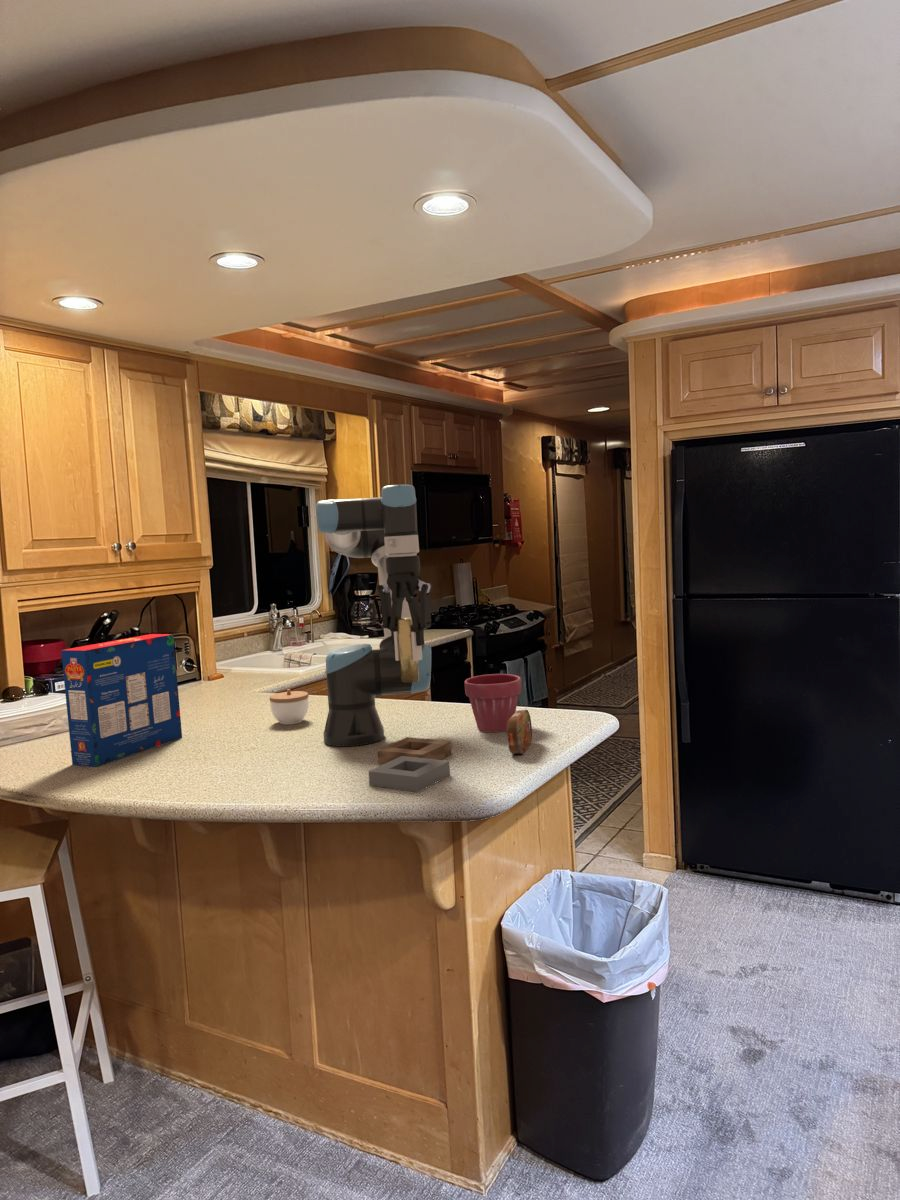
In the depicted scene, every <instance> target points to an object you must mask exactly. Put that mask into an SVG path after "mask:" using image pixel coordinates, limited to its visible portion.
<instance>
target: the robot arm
mask: <svg viewBox="0 0 900 1200" xmlns="http://www.w3.org/2000/svg"><path fill="white" fill-rule="evenodd" d="M315 510H316V522H317V523H316V524H317V530H318V532H319V533H320V534H324V540H325V543H326V545H327V546H328V547H329V549H330V550H332V551H333V552H335V553H337V554H339V555H341V556H342V555H343V556H345V557H348V558H355V559H365V558H366V559H369V558H370V559H371V563H372V564H373V565H374V566H375V567H376V568H377V571H378V572H377V573H378V574H377V575H378V581H379V582H378V583H379V584H378V585H377V586H376V589H377V592H378V594H379V599H380V609H381V621H382V627H383V634H384V638H383V639H381V641H380V642H379V645H378V647H379V648H378V649H376V648H375V649H373V647H372V645H371V644H369V643H364V644H363V643H362V644H354V645H349V646H344V647H341V648H337V649H335V650H332V651H330V652H329V653H328V654H327V656H326V657H325V672H324V673H325V674H326V687H327V702H328V703H327V704H328V712H327V713H328V714H327V717H326V721H325V725H324V730H323V743H324V744H326V745H329V746H333V747H334V746H335V747H357V746H365V745H369V744H374V743H376V742H379V741H381V740H383V739H384V738H385V729H384V726H383V724H382V721H381V718H380V715H379V713H378V710H377V708H376V698H375V697H379V696H389V695H390V696H392V695H405V694H411V695H413V694H415V693H423V692H426V691H428V690H429V689H430V686H431V678H432V676H431V675H432V673H431V672H432V647H431V645H428V644H425V635H424V634H425V633H424V632H425V630H426V629H428V628H431V626H432V609H431V607H432V606H431V605H432V604H431V601H432V600H431V593H432V590H433V584H432V583H431V582H429V583H427V582H425V581H423V580H422V578H421V576H420V572H421V561H420V556H419V555H417V554H418V553H420V543H419V532H418V518H417V517H418V514H417V513H418V512H417V497H416V489H415V486H414V485H412V484H391V485H385V486H383V487H381V496H379V497H378V496H377V497H363V498H348V499H347V498H345V499H343V498H342V499H333V498H331V499H326V500H319V501H317V503H316V505H315ZM418 591H419V592H418ZM400 618H411V619H412V623H413V627H414V630H412V631H413V632H411V638H412V654H413V661H418V669H419V681H416V682H401V668H400V652H399V637H398V621H397V619H400Z"/></svg>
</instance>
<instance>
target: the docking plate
mask: <svg viewBox="0 0 900 1200" xmlns="http://www.w3.org/2000/svg"><path fill="white" fill-rule="evenodd" d="M450 765H451V764H450V760H445V759H444V760H443V759H441V760H436V759H427V758H418V757H408V756H400V757H398V758H396V759H394V760H392V761H389V762H387V763H385V764H381V765H379V766H377V767H375V768H372V769H370V770H368V783H369V784H368V785H369V786H370V785H372V786H371V787H376V786H379V787H378V788H384V787H387V788H386V789H391V788H394V789H393V790H399V789H400V791H406V790H407V792H414V791H415V792H414V793H420V792H421V790H422V791H424V790H426V789H427V788H429V787H431V786H432V784H433V785H435V784H436V783H438V782H440V781H442V780H444V779H446V778H447V777H449V776H451V767H450ZM445 777H446V778H445ZM443 778H444V779H443ZM441 779H442V780H441ZM439 780H440V781H439ZM437 781H438V782H437ZM435 782H436V783H435ZM434 783H435V784H434ZM430 785H431V786H430ZM428 786H429V787H428ZM426 787H427V788H426ZM425 788H426V789H425ZM423 789H424V790H423Z"/></svg>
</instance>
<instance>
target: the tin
mask: <svg viewBox="0 0 900 1200" xmlns="http://www.w3.org/2000/svg"><path fill="white" fill-rule="evenodd" d="M531 719H532V718H531V714H530V712H529V710H528V709H522V710H516V712H515V713H514V714H513V715H512V716H511V717H510V718H509V720H508V723H507V730H506V734H507V735H506V736H507V742H508V750H509V752H510V753H511V754H512V755H524V754H525V753H526V751H527V750H528V748H529V747H530V746H531V744H532V739H533V730H532V729H533V728H532V727H533V725H532V720H531Z"/></svg>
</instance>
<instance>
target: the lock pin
mask: <svg viewBox="0 0 900 1200" xmlns="http://www.w3.org/2000/svg"><path fill="white" fill-rule="evenodd" d="M397 621H398V637H399V652H400V668H401V682H416V681H419V669H418V661H413V654H412V638H411V632H413V631H412V630H414V627H413V623H412V619H411V618H400V619H397Z"/></svg>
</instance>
